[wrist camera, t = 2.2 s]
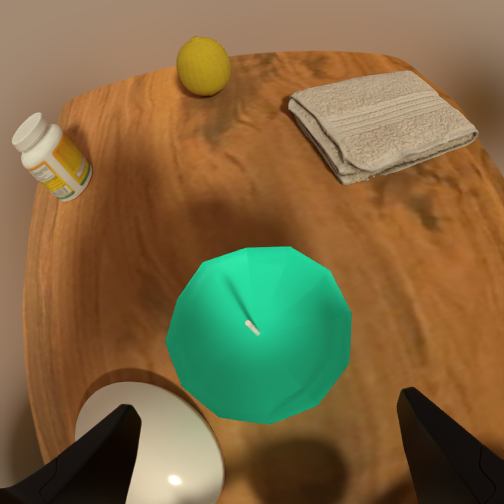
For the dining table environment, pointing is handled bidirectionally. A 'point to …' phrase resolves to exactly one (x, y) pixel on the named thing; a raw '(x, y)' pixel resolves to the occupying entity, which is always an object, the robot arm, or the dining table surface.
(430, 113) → the washcloth
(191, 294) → the candle
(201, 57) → the lemon
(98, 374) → the dining table surface
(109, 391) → the dish
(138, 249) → the dining table surface
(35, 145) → the supplement bottle
